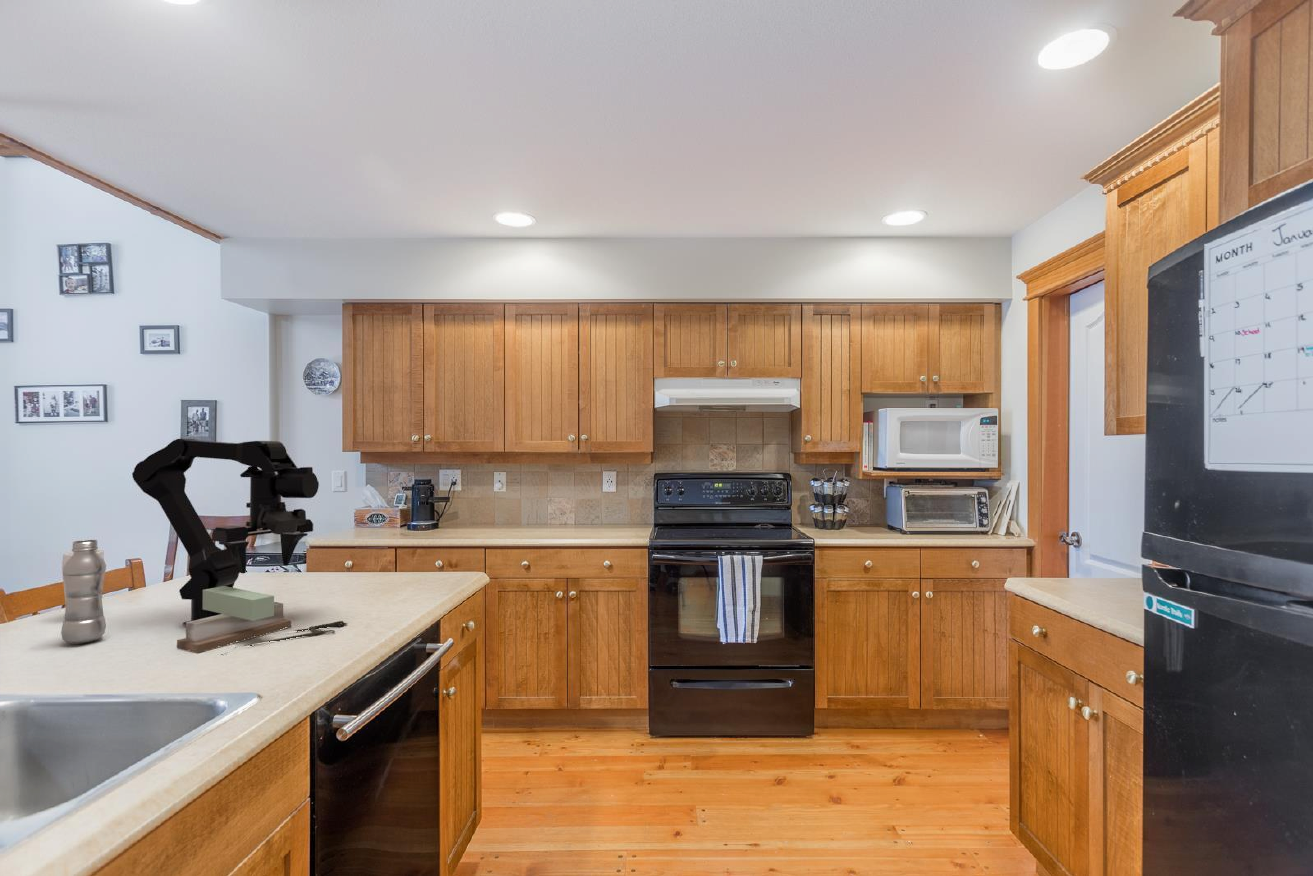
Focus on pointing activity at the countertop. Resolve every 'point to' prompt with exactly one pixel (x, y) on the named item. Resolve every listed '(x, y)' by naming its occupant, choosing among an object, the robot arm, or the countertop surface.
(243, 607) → the bar
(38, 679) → the countertop surface
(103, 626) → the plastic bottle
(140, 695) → the countertop surface
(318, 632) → the brown tree branch
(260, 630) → the ridge stand
